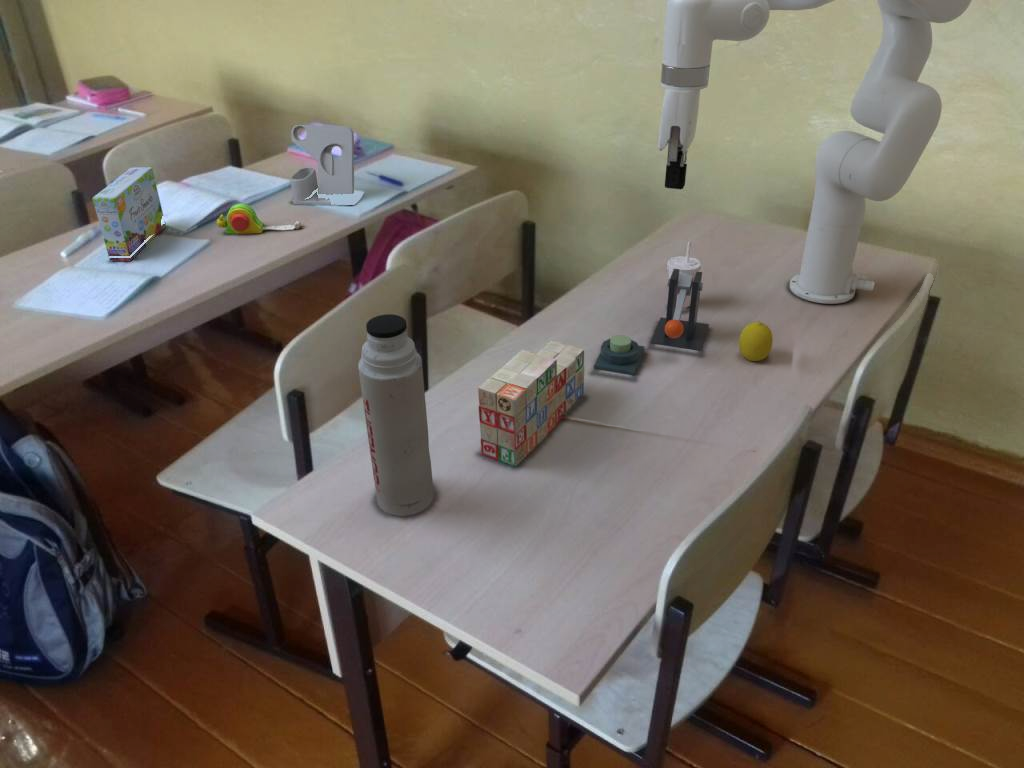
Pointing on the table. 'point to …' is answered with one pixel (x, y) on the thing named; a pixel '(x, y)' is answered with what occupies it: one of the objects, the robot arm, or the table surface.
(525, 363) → the stack of blocks
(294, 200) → the phone holder
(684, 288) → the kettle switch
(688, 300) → the smoothie
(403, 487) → the thermos bottle
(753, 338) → the lemon
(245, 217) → the toy measuring tape
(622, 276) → the table surface
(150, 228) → the snack box
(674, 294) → the switch bracket
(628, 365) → the dark piece
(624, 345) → the green round button
